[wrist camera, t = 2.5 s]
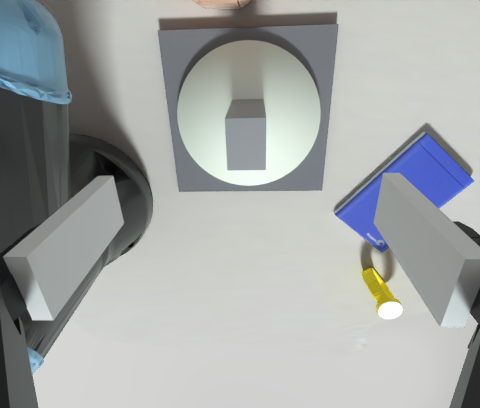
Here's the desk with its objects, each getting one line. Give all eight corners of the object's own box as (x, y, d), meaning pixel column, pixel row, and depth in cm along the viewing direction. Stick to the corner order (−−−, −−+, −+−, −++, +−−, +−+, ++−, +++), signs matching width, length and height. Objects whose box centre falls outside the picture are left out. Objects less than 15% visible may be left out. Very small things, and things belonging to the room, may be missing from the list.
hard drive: (382, 254, 38) (476, 182, 33) (335, 216, 36) (428, 133, 31) (378, 246, 40) (467, 176, 35) (332, 209, 37) (420, 129, 33)
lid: (313, 182, 34) (331, 224, 26) (186, 183, 35) (166, 225, 27) (325, 37, 28) (353, 36, 20) (170, 42, 29) (137, 43, 21)
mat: (320, 187, 35) (321, 190, 35) (180, 188, 36) (179, 191, 36) (336, 24, 28) (338, 24, 27) (160, 30, 29) (157, 30, 28)
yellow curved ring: (352, 267, 41) (364, 298, 35) (371, 256, 40) (387, 287, 35) (376, 297, 42) (391, 331, 37) (395, 287, 42) (413, 321, 36)
